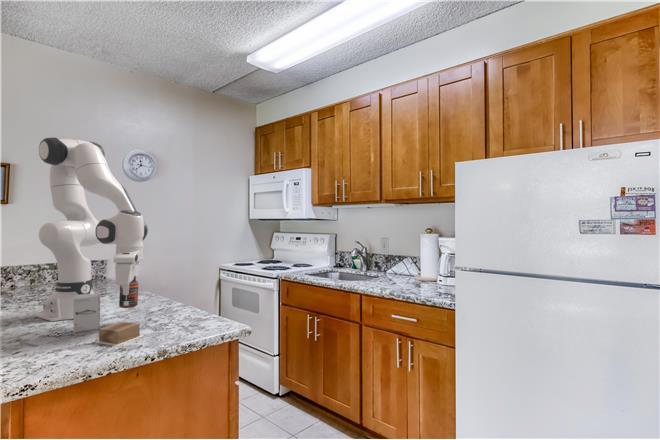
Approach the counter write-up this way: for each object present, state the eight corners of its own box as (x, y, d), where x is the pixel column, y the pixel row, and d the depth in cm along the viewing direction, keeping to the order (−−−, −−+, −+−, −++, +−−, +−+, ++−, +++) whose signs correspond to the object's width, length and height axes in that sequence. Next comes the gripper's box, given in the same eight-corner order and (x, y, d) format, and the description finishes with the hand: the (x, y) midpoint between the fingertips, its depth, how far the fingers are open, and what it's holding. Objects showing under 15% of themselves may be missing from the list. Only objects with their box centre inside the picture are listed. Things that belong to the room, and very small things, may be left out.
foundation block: (99, 341, 112) (98, 328, 112) (121, 333, 120) (121, 321, 120) (118, 344, 109) (118, 331, 109) (139, 336, 117) (139, 324, 117)
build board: (74, 344, 113) (74, 340, 113) (114, 330, 126) (114, 327, 126) (117, 351, 107) (117, 347, 107) (154, 336, 120) (154, 332, 120)
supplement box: (72, 335, 121) (72, 298, 121) (76, 329, 128) (76, 294, 127) (98, 332, 124) (98, 296, 124) (100, 326, 131) (100, 292, 131)
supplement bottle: (129, 309, 127) (130, 278, 127) (115, 307, 128) (116, 276, 128) (141, 305, 133) (142, 275, 132) (127, 303, 134) (128, 273, 134)
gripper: (127, 251, 139) (126, 286, 139) (112, 258, 119) (111, 299, 120) (144, 251, 141) (143, 286, 141) (133, 258, 121) (131, 298, 122)
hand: (128, 292), depth 130 cm, fingers closed on supplement bottle, 6 cm apart
